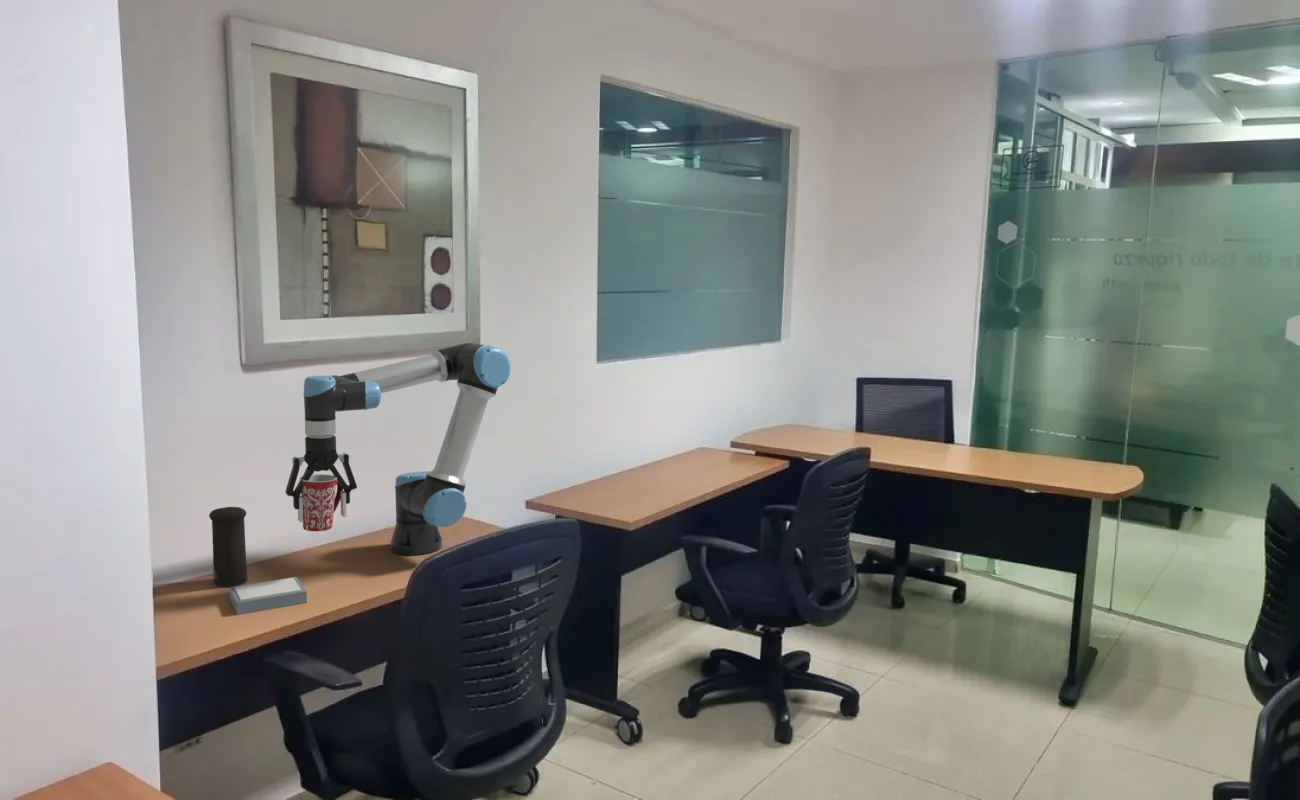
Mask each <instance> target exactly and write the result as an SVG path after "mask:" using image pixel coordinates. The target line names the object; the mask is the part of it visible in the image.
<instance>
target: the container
mask: <svg viewBox="0 0 1300 800" xmlns="http://www.w3.org/2000/svg"><path fill="white" fill-rule="evenodd" d="M246 515H247V511H246V510H245V509H244V508H242V507H240V506H239V507H238V506H226V507H225V506H224V507H220V508H215V509H213V510H212V511H211V512H210V513H209V514H208V516H209V519H210V520H211V532H212V564H213V565H212V566H213V569H212V570H213V584H214V585H215V586H217V587H222V588H224V587H226V588H228V587H235V586H241V585H244V584H245V583H247V581H248V566H247V549H246V527H245V517H246Z"/></svg>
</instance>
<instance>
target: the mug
mask: <svg viewBox="0 0 1300 800" xmlns="http://www.w3.org/2000/svg"><path fill="white" fill-rule="evenodd" d="M299 481H301V482H302V490H303V491H302V493H301V494H300V495H301V496H302V497H303V522H302V528H303V530H304V531H308V532H325V531H328V530H331V529H333V525H334V524H333V522H334V514H335V511H336V510H337V508H338V506H339V504H340V503H341V491H344V489H343V488H342V486H341V485H340V483H339V482H338V481H337V477H335V476H334V475H333V474H332V475H331V474H323V473H322V474H320V473H319V474H318V473H317V474H316V473H315V474H314V473H313V474H312V475H311V477H310V479H309V480H308V481H305V480H302V476H300V477H299Z"/></svg>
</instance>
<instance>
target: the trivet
mask: <svg viewBox="0 0 1300 800" xmlns="http://www.w3.org/2000/svg"><path fill="white" fill-rule="evenodd" d="M307 594H308V593H307V590H306V588H305V587H304V586H303V584H302V583H301V582H300V579H299V578H298V577H297V576H293V577H287V578H281V579H274V580H268V581H262V582H255V583H249V584H241V585H236V586H230V587H229V600H230V601H231V604H232V606H233V608H234V611H235V612H236V615H237V616H239V615H243V614H250V613H255V612H256V613H257V612H260V611H261V612H262V611H266V610H272V609H279V608H285V607H290V606H295V605H301V604H306V603H308V597H307Z"/></svg>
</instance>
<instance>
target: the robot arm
mask: <svg viewBox="0 0 1300 800" xmlns="http://www.w3.org/2000/svg"><path fill="white" fill-rule="evenodd" d="M511 366H512V365H511V361H510V359H509V357H508V355H507V353H505V351H503V350H502V349H500V348H498V347H497V346H496V347H495V346H494V345H489V344H479V343H475V342H474V343H472V342H466V343H465V342H464V343H459V344H455V345H452V346H448V347H447V346H446V347H444V348H440V349H435V350H433V351H431V354H430V355H425V356H421V357H417V358H412V359H408V360H404V361H399V362H395V363H390V364H386V365H382V366H377V367H373V368H369V369H363V370H360V371H356V372H352V373H347V374H343V375H334V374H330V375H310V376H307V377H305V379H304V383H303V384H304V385H303V394H302V395H303V403H304V407H303V408H304V434H305V438H304V444H305V447H304V448H305V454H304V455H303V456H299V457H297V456H293V457H292V469H291V472H290V474H289V479H288V481H287V484H286V488H285V491H284V492H285V494H286V495H287V496H288V497H292V498H293V499H292V501H293V503H292V504H293V508H294V510H297V520H298V521H299V522H300V523H303V497H302V496H301V493H302V491H303V490H302V482H301V481H300V480H299V481H298V483H297V485H296V482H297V479H298V477H299V472H300V468H301V467H302V465H303V463H304V462H305V463H306V464H307V467H306V468H305V470H304V473H303V475H302V476H301V477H302V480H305V481H308V480H309V479H310V477H311V475H313V474H314V473H315V472H317V473H318V472H321V471H324V472H329V471H330V472H331V473H332V475H333V476H335V477H337V481H338V482H339V483H340V485H341V486H342V488H343V491H341V500H340V516H342V518H347V505H348V504H350V503H351V491H353V490H356V489H358V485H357V483H356V480H355V476H354V474H353V470H352V467H351V466H350V456H349V454H347V453H346V452H342V453H338V452H337V436H335V434H336V433H337V429H336V424H337V423H336V417H337V416H336V412H338V413H339V412H345V411H346V412H348V411H349V412H350V411H360V410H363V411H367V410H370V409H376V408H378V407H379V406H380V404H381V400H382V394H385V393H389V392H393V391H396V390H402V389H404V388H409V387H413V386H418V385H420V384H421V385H422V384H425V383H429V382H434V381H438V382H440V383H443V382H447V381H457V382H456V385H457V387H458V389H459V393H458V395H457V399H456V402H455V405H454V408H453V411H452V414H451V417H450V420H449V423H448V426H447V429H446V432H445V435H444V438H443V442H442V444H441V447H440V450H439V452H438V456H437V459H436V461H435V466H434V468H433V469H432V470H430V471H415V472H406V473H401V474H399V475H397V476H396V478H395V484H394V489H395V490H394V491H395V494H394V495H395V525H394V526H395V527H394V529H393V532H392V535H391V538H390V551H392V552H393V553H395V554H400V555H404V556H405V555H406V556H407V555H408V556H409V555H410V556H415V555H427V554H430V553H431V554H432V553H434V552H437V551H439V550H441V548H442V547H443V538H442V535H441V532H440V529H439V528H448V527H451V526H453V525H455V524H457V523H458V522H460V520H461V519H462V518H463V516H464V515H465V513H466V510H467V504H468V503H467V499H466V496H465V494H464V493H465V489H466V486H467V484H466V482H465V480H464V475H465V473H466V468H467V466H468V463H469V460H470V457H471V454H472V451H473V448H474V445H475V441H476V439H477V435H478V433H479V429H480V426H481V423H482V420H483V418H484V414H485V412H486V408H487V404H488V402H489V400H490V399H492V398H494V397H495V396H496V394H497V391H498V389H499V387H501V386H503V385H505V384H506V383H507V381H508V380H509V379H510V375H511V371H512V370H511V369H512V367H511ZM338 459H339V461H340V463H342V466H343V469H344V473H345V475H346V478H347V481H348V484H347V482H346V481H345V480H344V478H343V476H342V475H341V474H340V473H339V470H338V469H337V468H336V466H335V464H336V462H337V460H338ZM295 485H296V487H295Z"/></svg>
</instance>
